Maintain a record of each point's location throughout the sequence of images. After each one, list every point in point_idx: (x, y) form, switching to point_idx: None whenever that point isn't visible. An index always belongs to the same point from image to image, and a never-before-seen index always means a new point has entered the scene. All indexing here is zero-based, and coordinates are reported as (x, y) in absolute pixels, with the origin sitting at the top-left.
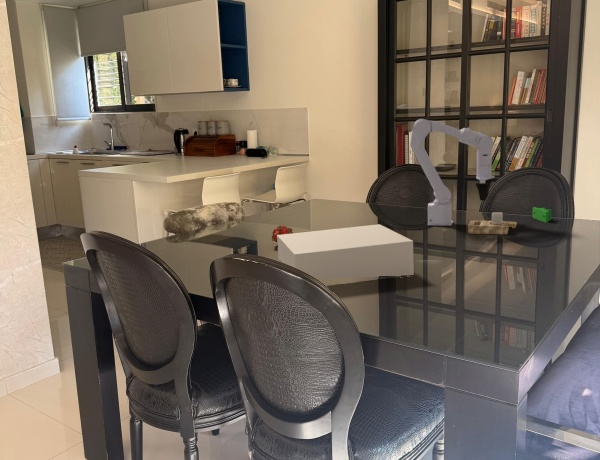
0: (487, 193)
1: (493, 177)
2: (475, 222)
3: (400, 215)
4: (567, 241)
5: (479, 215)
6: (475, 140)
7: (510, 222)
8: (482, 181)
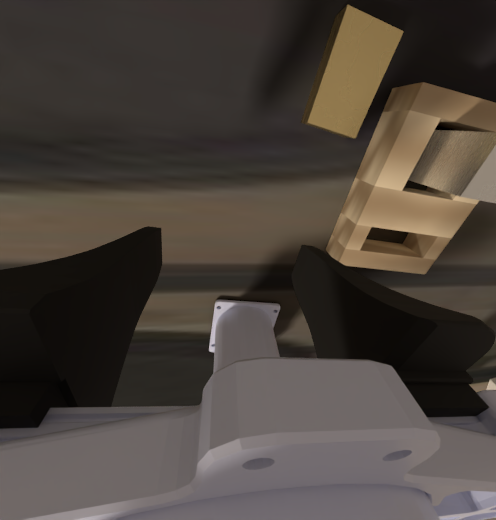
0: (149, 242)
1: (400, 392)
2: (357, 246)
3: (118, 405)
4: None
5: (39, 206)
6: None
7: (353, 59)
8: None
